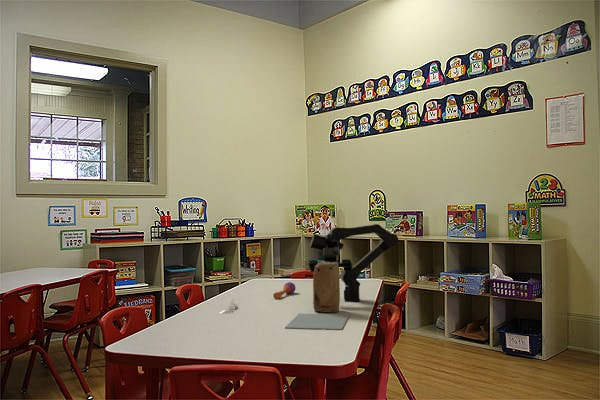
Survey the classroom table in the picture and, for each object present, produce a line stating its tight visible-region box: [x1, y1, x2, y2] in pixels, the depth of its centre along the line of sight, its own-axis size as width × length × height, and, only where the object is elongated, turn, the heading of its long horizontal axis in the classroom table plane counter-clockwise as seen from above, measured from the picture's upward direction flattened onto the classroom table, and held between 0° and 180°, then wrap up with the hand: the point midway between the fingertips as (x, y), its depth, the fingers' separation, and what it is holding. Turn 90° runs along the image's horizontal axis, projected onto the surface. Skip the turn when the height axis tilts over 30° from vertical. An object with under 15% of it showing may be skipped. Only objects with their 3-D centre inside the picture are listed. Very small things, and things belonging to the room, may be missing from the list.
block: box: [312, 261, 341, 314], centre depth 200 cm, size 11×8×20 cm
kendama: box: [273, 281, 296, 300], centre depth 241 cm, size 6×6×20 cm
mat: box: [284, 313, 350, 331], centre depth 181 cm, size 20×24×1 cm
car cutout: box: [218, 298, 239, 315], centre depth 207 cm, size 15×7×4 cm, turn 171°
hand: (328, 280), depth 211 cm, fingers closed
